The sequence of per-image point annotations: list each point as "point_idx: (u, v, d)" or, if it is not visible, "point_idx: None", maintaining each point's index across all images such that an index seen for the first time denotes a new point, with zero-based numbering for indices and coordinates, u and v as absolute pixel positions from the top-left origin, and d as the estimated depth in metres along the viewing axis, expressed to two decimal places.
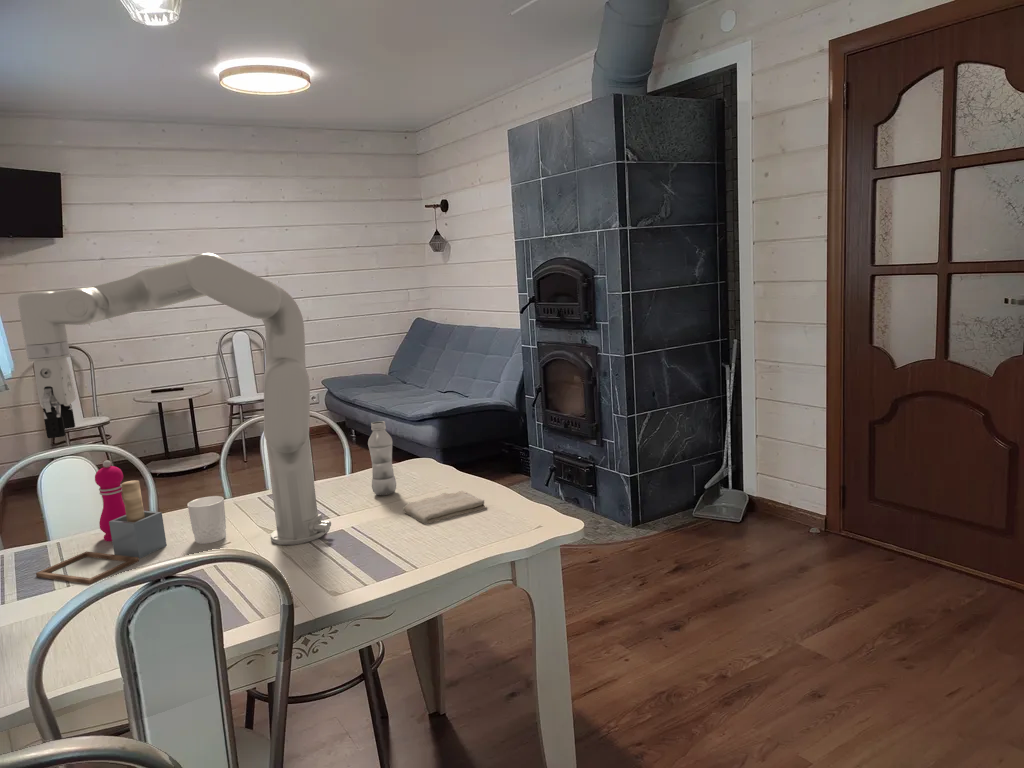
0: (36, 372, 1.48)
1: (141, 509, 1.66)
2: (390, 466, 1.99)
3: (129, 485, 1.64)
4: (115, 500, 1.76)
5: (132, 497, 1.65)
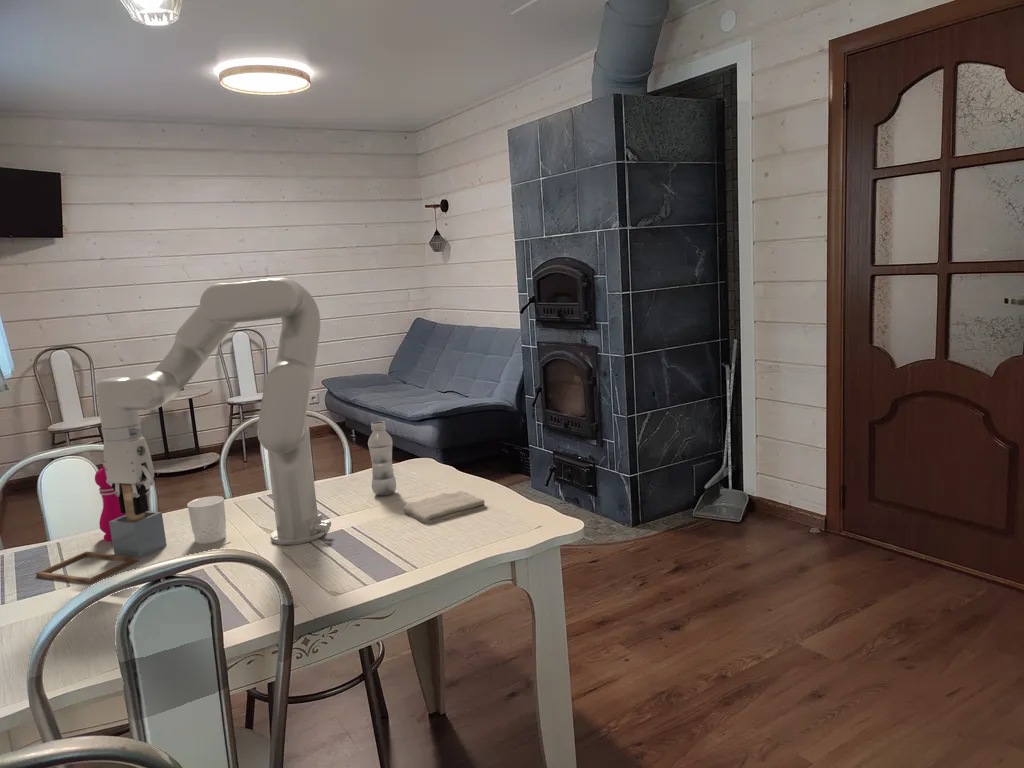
0: (133, 451, 1.61)
1: None
2: (390, 466, 1.99)
3: (129, 485, 1.64)
4: (115, 500, 1.76)
5: (132, 497, 1.65)
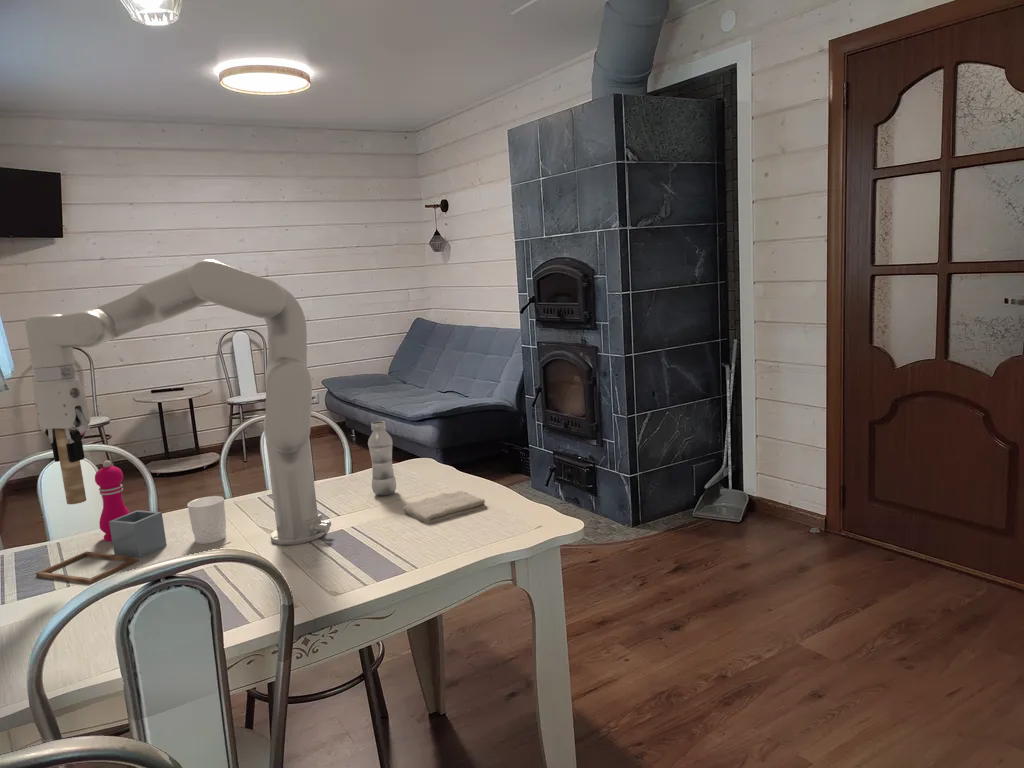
0: (65, 393, 1.50)
1: None
2: (390, 466, 1.99)
3: (62, 430, 1.53)
4: (115, 500, 1.76)
5: None
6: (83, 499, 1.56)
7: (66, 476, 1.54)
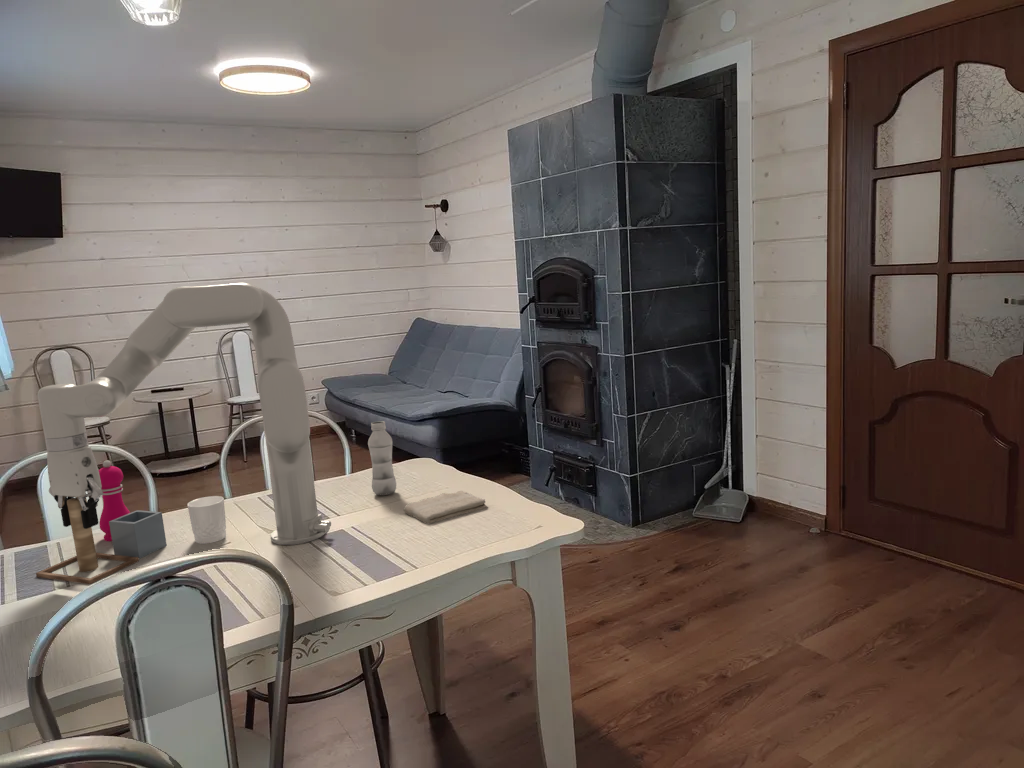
0: (77, 462, 1.52)
1: None
2: (390, 466, 1.99)
3: (75, 502, 1.55)
4: (115, 500, 1.76)
5: (78, 515, 1.56)
6: (95, 568, 1.59)
7: (79, 546, 1.57)
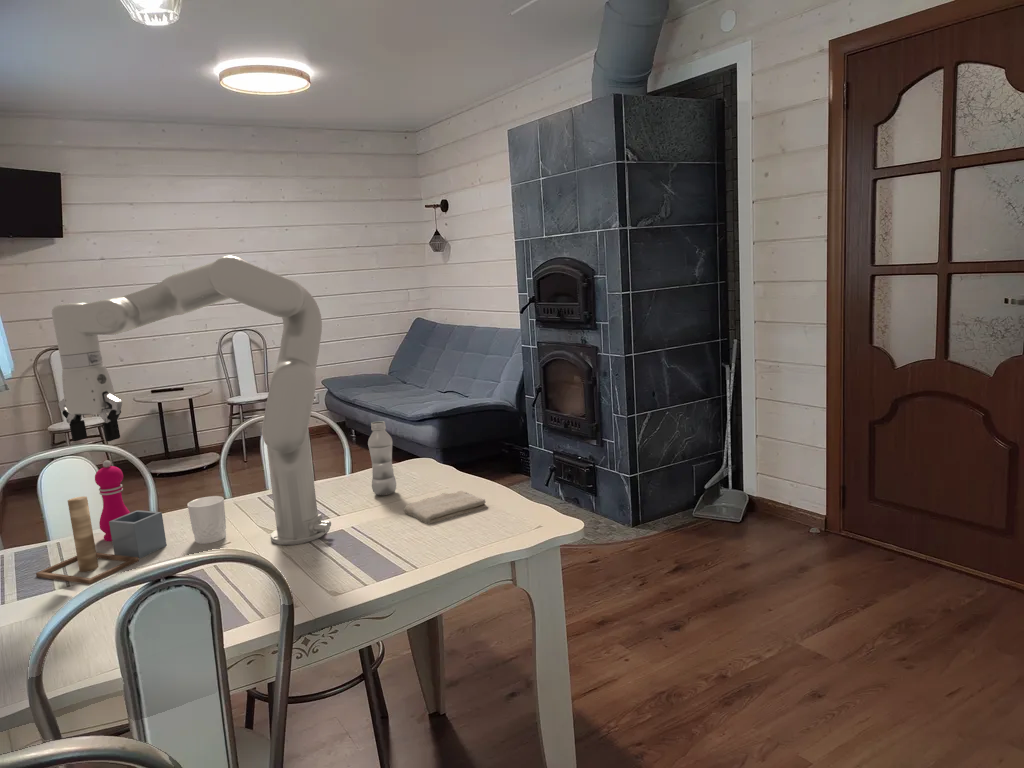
0: (93, 379, 1.54)
1: (89, 527, 1.57)
2: (390, 466, 1.99)
3: (75, 502, 1.55)
4: (115, 500, 1.76)
5: (79, 515, 1.56)
6: (95, 568, 1.59)
7: (79, 546, 1.57)
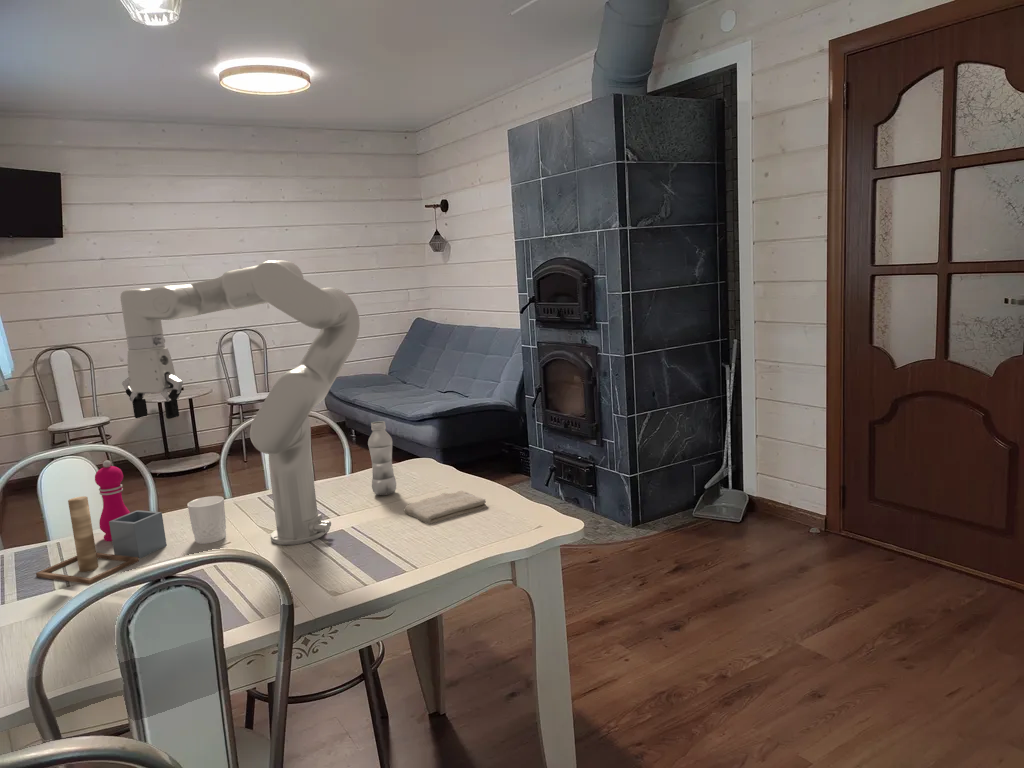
0: (156, 360, 1.65)
1: (89, 527, 1.57)
2: (390, 466, 1.99)
3: (76, 502, 1.55)
4: (115, 500, 1.76)
5: (79, 515, 1.56)
6: (95, 568, 1.59)
7: (79, 546, 1.57)
